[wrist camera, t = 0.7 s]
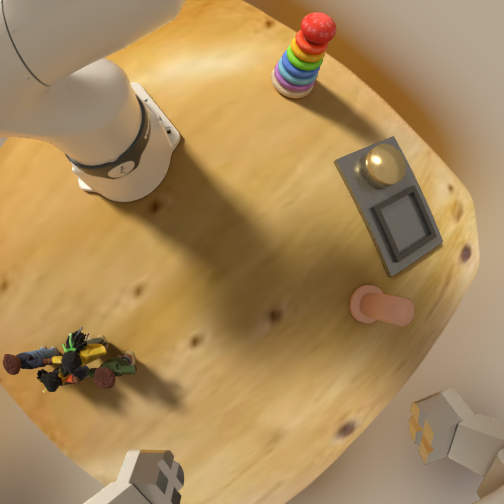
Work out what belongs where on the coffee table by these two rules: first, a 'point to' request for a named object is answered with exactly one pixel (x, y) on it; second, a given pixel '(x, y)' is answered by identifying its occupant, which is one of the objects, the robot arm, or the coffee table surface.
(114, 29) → the robot arm
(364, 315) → the pink peg on base
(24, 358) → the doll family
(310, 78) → the stacking toy
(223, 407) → the coffee table surface
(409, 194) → the carrier plate
